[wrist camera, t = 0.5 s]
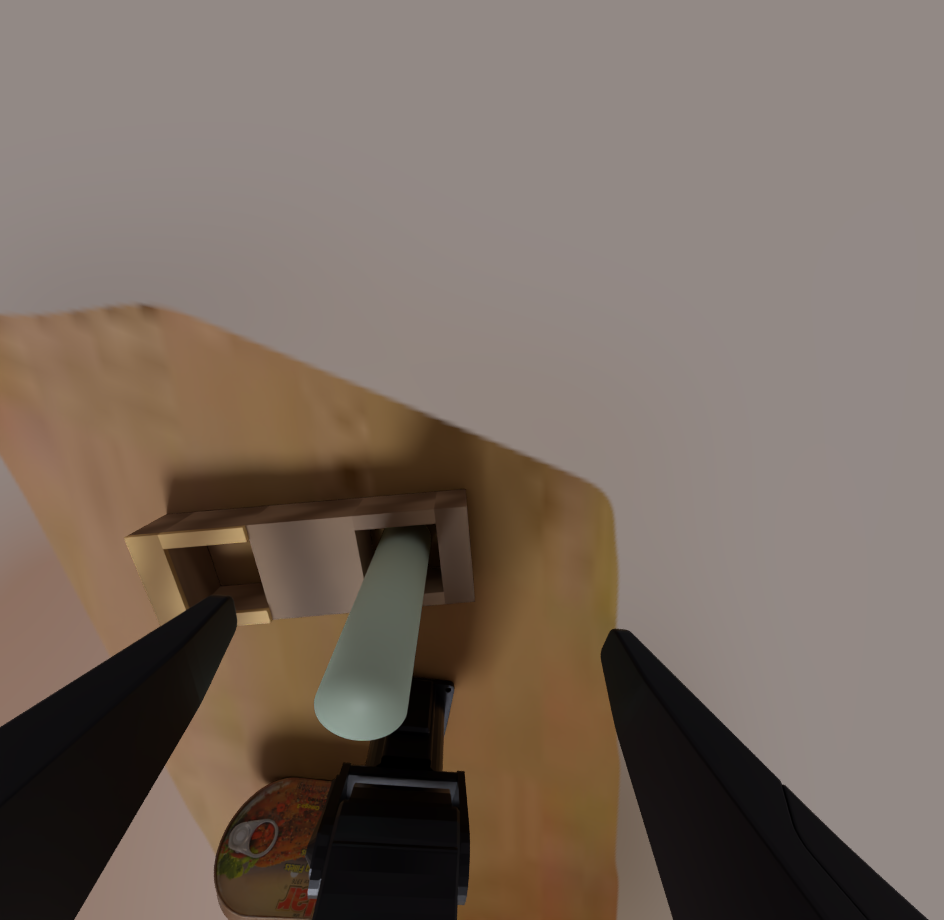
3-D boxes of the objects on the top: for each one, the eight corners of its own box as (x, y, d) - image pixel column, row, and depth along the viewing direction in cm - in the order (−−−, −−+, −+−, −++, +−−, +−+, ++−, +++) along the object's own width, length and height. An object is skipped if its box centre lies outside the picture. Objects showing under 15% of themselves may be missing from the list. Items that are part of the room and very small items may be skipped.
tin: (414, 788, 34) (400, 923, 26) (408, 810, 35) (393, 947, 27) (252, 770, 33) (185, 907, 25) (251, 793, 33) (185, 933, 25)
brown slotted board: (465, 488, 25) (466, 508, 22) (473, 575, 27) (475, 604, 24) (166, 514, 25) (123, 537, 22) (196, 599, 27) (162, 632, 24)
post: (427, 563, 27) (401, 744, 14) (380, 557, 27) (311, 736, 14) (434, 520, 26) (413, 676, 13) (385, 513, 26) (316, 666, 13)
